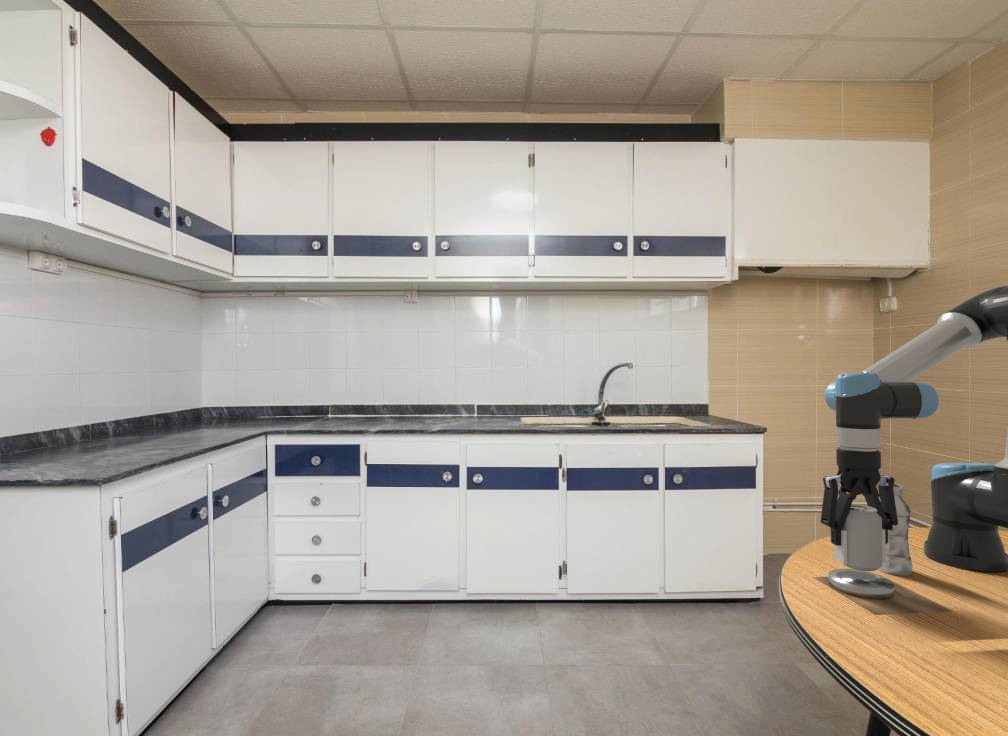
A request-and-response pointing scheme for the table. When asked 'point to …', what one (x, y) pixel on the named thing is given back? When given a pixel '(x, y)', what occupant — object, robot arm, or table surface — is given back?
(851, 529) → the can
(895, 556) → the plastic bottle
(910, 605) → the board
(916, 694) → the table surface
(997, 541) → the robot arm
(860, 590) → the grey hollow ring
